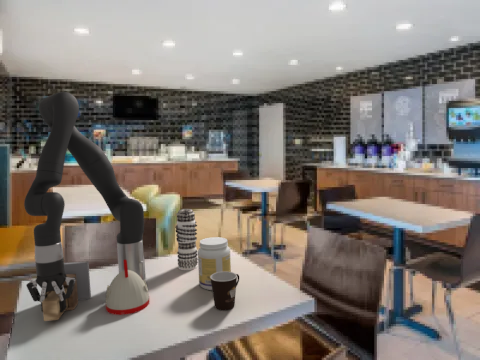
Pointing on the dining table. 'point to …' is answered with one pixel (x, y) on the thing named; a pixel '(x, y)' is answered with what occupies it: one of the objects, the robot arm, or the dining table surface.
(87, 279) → the wall
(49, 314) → the tan wooden bar
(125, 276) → the cream dome
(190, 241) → the decorative candle
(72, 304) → the block
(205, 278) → the supplement tub
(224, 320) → the dining table surface
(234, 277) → the coffee mug
